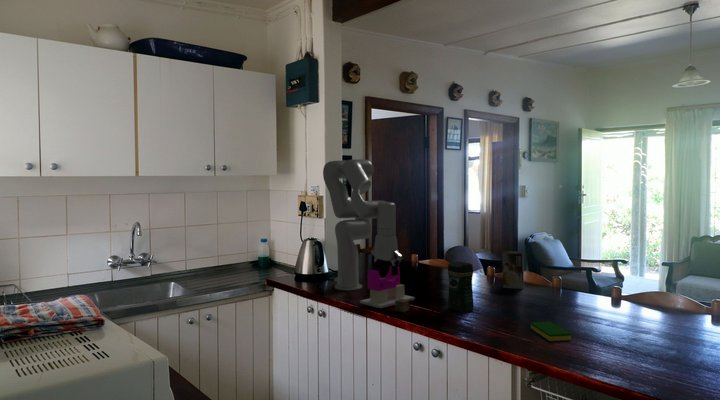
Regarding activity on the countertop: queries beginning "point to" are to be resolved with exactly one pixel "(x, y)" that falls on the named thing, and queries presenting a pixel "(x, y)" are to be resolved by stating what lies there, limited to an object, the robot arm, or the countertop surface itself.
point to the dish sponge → (550, 331)
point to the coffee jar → (460, 286)
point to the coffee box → (513, 270)
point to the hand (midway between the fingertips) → (386, 273)
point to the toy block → (382, 280)
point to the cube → (402, 305)
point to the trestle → (386, 297)
